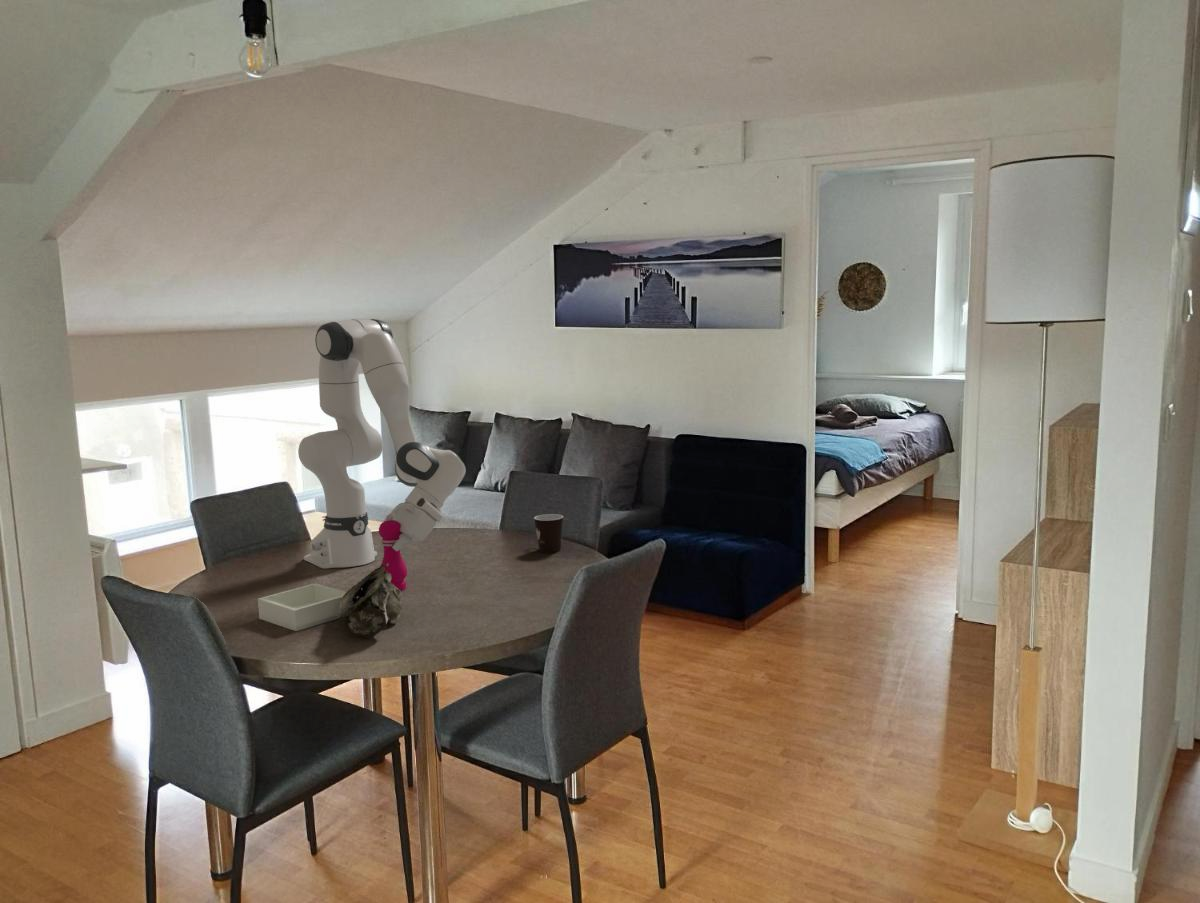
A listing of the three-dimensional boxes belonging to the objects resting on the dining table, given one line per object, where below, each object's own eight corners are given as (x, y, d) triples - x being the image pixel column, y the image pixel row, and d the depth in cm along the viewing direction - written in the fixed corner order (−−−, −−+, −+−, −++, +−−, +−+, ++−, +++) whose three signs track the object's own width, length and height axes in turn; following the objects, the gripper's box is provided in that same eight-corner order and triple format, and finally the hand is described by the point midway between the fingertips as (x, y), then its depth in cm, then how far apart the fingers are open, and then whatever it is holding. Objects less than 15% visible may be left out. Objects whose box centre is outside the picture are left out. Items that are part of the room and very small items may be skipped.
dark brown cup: (563, 553, 294) (562, 520, 292) (534, 554, 294) (532, 520, 293) (565, 543, 306) (564, 511, 304) (537, 544, 306) (536, 512, 304)
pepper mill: (401, 593, 259) (396, 517, 256) (375, 592, 260) (370, 517, 257) (412, 585, 266) (407, 511, 263) (387, 584, 267) (382, 511, 264)
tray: (259, 618, 242) (257, 598, 241) (316, 602, 253) (315, 583, 253) (296, 631, 231) (294, 610, 230) (354, 613, 243) (352, 593, 242)
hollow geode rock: (365, 666, 220) (410, 617, 218) (320, 630, 218) (365, 580, 217) (387, 622, 248) (426, 578, 246) (347, 589, 246) (387, 545, 244)
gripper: (398, 492, 272) (366, 533, 268) (429, 503, 255) (395, 547, 251) (415, 506, 275) (383, 546, 271) (446, 518, 258) (412, 561, 254)
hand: (389, 547), depth 261 cm, fingers closed on pepper mill, 5 cm apart
